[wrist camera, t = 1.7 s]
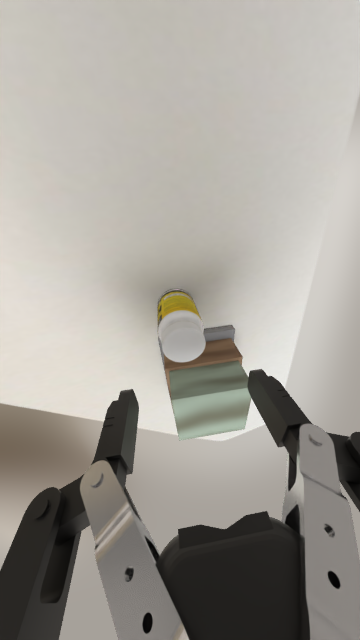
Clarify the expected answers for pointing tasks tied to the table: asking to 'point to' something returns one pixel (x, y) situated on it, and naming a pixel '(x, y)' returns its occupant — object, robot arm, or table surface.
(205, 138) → the table surface
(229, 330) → the baseplate
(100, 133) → the table surface
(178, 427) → the brick tower
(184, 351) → the supplement bottle
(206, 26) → the table surface
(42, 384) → the table surface
